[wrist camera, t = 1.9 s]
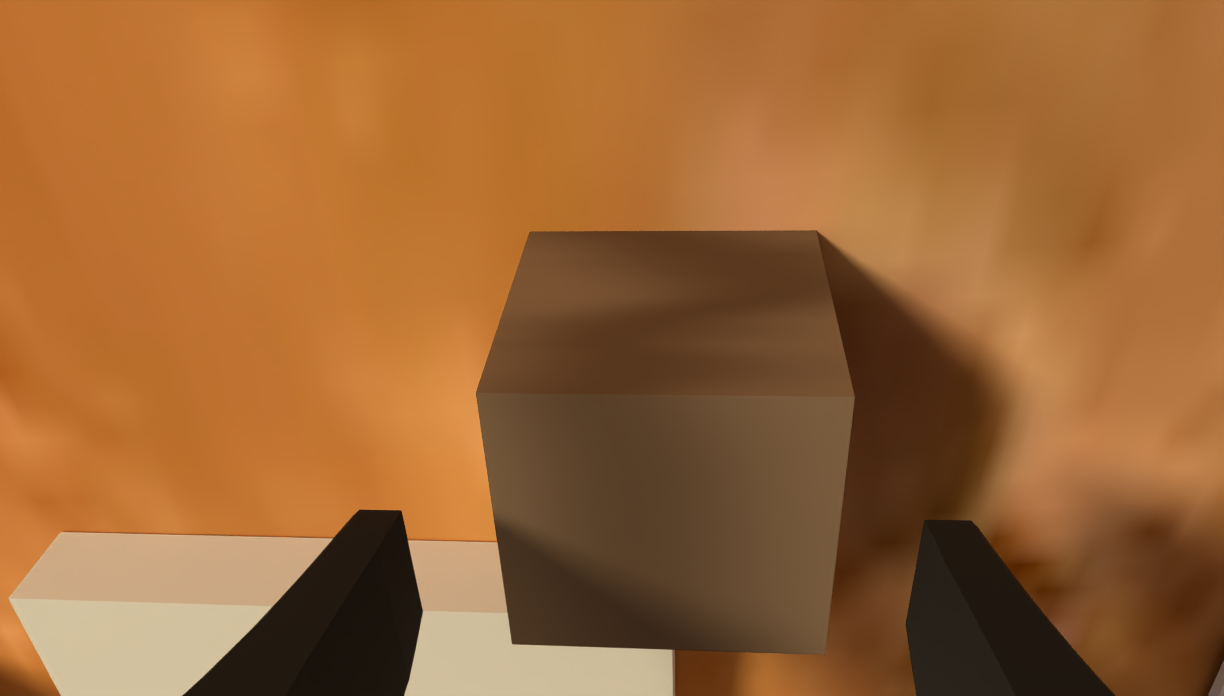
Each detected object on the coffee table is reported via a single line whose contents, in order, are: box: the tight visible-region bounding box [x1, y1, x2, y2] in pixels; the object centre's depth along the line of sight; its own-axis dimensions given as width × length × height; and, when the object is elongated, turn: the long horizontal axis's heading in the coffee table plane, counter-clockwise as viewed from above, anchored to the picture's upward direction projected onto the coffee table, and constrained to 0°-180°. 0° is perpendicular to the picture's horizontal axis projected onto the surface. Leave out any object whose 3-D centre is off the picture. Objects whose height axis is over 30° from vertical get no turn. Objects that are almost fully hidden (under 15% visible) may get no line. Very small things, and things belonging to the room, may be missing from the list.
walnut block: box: [476, 231, 855, 655], centre depth 16 cm, size 5×5×5 cm
